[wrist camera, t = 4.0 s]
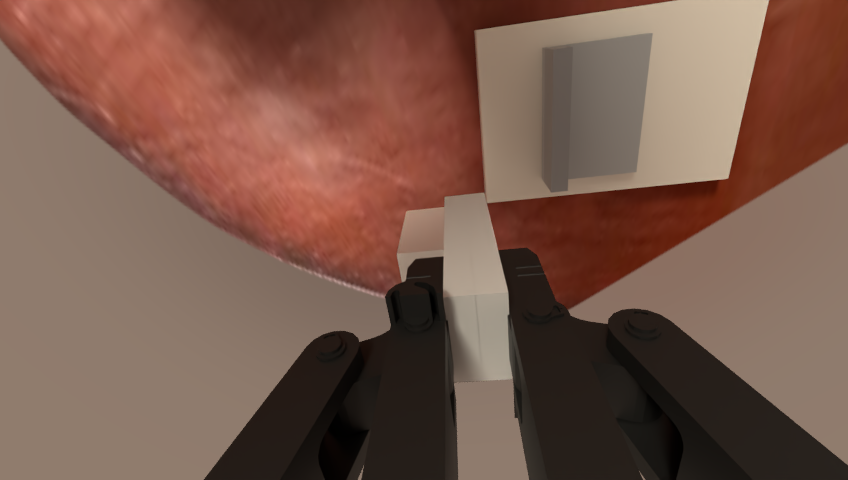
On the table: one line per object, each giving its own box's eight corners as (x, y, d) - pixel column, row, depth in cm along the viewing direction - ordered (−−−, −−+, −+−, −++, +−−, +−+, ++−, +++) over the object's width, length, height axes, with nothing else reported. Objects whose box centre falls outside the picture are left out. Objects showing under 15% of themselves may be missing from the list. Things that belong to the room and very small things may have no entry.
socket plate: (484, 194, 35) (486, 203, 33) (474, 30, 29) (475, 30, 27) (713, 171, 33) (728, 178, 31) (750, -11, 27) (772, -14, 25)
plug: (413, 252, 38) (402, 321, 29) (406, 210, 36) (392, 271, 27) (458, 248, 38) (462, 317, 29) (454, 206, 36) (457, 265, 27)
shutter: (541, 178, 32) (551, 192, 29) (542, 47, 28) (553, 49, 25) (632, 168, 31) (650, 182, 28) (647, 33, 27) (670, 32, 24)
